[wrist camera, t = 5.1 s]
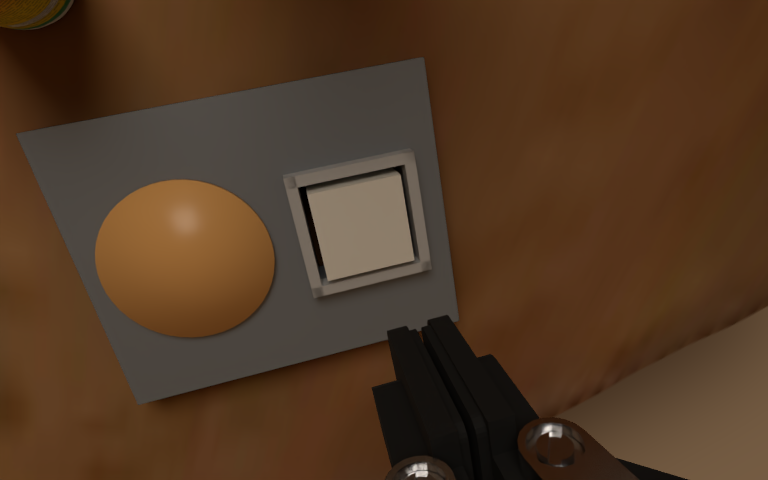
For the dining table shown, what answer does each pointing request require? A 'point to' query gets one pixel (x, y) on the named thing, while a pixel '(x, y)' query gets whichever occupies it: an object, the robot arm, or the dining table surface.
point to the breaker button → (361, 222)
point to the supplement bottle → (32, 13)
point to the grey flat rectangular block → (243, 224)
